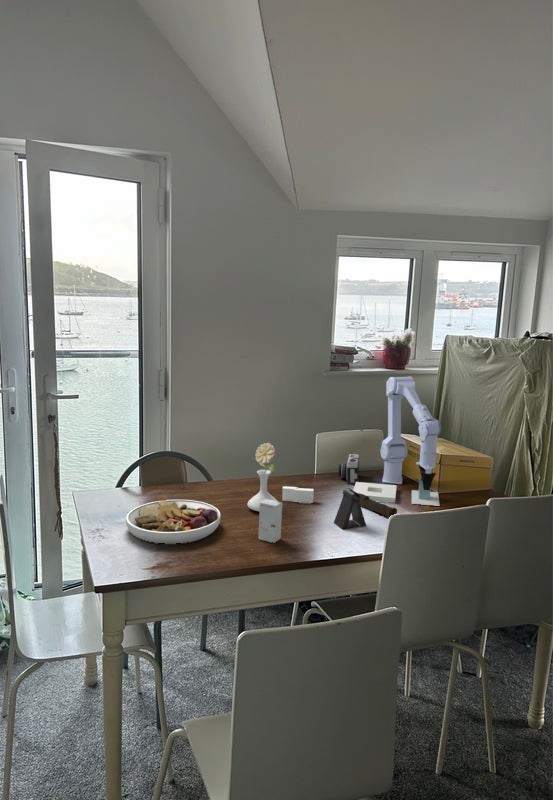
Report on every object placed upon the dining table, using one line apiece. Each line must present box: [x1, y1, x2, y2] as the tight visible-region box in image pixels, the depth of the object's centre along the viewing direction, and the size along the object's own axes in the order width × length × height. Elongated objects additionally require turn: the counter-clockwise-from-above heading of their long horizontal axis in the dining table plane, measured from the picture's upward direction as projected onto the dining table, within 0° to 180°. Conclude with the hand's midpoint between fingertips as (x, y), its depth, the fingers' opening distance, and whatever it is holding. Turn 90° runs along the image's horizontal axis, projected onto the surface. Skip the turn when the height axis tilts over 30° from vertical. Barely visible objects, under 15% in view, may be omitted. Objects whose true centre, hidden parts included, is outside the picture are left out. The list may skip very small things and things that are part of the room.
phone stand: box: [333, 487, 367, 530], centre depth 203 cm, size 9×6×12 cm, turn 112°
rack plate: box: [352, 481, 398, 503], centre depth 235 cm, size 16×16×2 cm
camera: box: [338, 453, 360, 485], centre depth 253 cm, size 14×9×10 cm, turn 163°
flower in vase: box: [246, 442, 278, 512], centre depth 214 cm, size 13×11×25 cm
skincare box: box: [257, 499, 283, 544], centre depth 189 cm, size 6×4×12 cm
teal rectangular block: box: [418, 477, 432, 500], centre depth 230 cm, size 4×4×7 cm
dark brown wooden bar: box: [358, 493, 398, 518], centre depth 217 cm, size 19×4×5 cm, turn 35°
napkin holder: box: [281, 486, 315, 504], centre depth 226 cm, size 15×11×6 cm
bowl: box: [125, 499, 221, 545], centre depth 196 cm, size 30×30×8 cm
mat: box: [411, 489, 440, 506], centre depth 231 cm, size 16×10×1 cm, turn 167°
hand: (425, 486), depth 230 cm, fingers open, 7 cm apart
